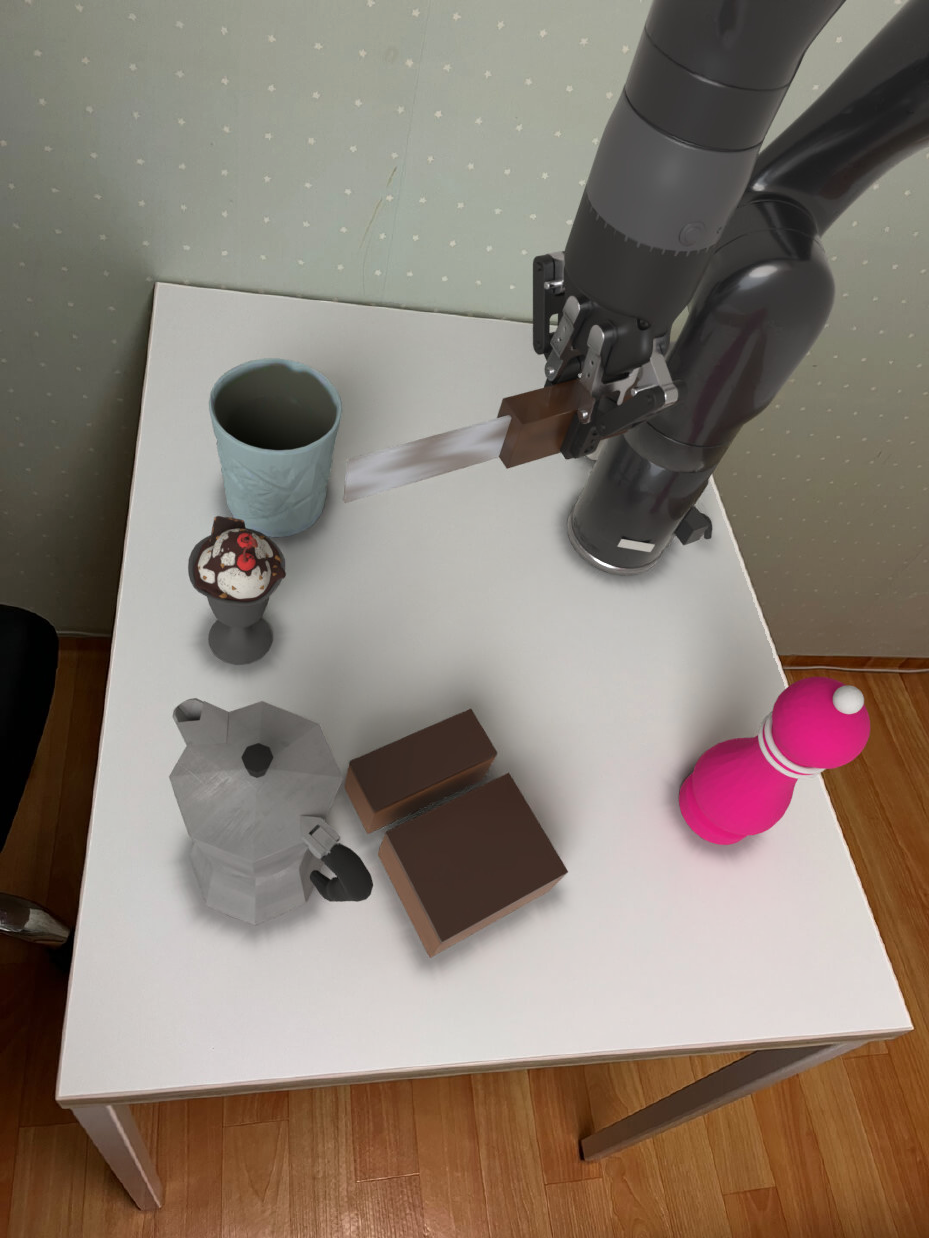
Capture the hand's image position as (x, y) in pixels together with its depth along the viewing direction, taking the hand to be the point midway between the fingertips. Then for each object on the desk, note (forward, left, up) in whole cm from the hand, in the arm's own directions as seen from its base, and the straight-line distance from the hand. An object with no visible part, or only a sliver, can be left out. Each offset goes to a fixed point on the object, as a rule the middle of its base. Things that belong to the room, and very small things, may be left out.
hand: (562, 436), depth 58 cm
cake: (+14, +19, -21) cm, 32 cm away
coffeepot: (+26, +13, -21) cm, 36 cm away
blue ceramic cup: (+13, -17, -21) cm, 30 cm away
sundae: (+21, -5, -21) cm, 30 cm away
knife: (+6, 0, 0) cm, 6 cm away
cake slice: (+14, +12, -21) cm, 28 cm away
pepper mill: (-7, +24, -21) cm, 33 cm away
